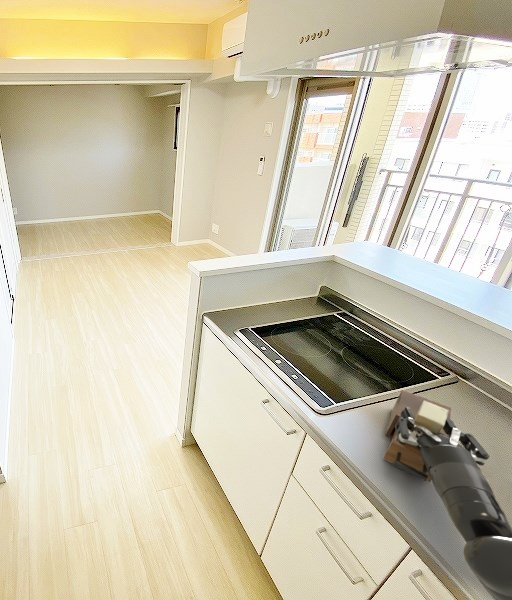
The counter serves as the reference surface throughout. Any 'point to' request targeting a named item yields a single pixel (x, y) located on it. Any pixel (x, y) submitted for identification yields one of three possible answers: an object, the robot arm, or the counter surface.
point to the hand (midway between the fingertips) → (424, 414)
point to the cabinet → (414, 404)
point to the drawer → (406, 458)
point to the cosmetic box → (430, 418)
